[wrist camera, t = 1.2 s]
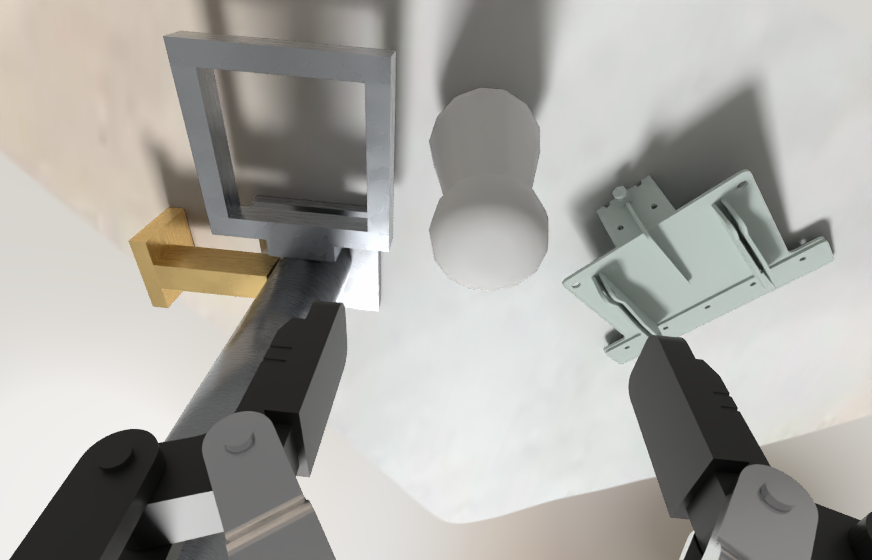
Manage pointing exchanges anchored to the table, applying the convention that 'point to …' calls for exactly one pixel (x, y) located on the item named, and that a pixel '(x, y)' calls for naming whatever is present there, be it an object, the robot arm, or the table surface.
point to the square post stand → (267, 220)
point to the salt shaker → (487, 191)
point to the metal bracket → (686, 260)
